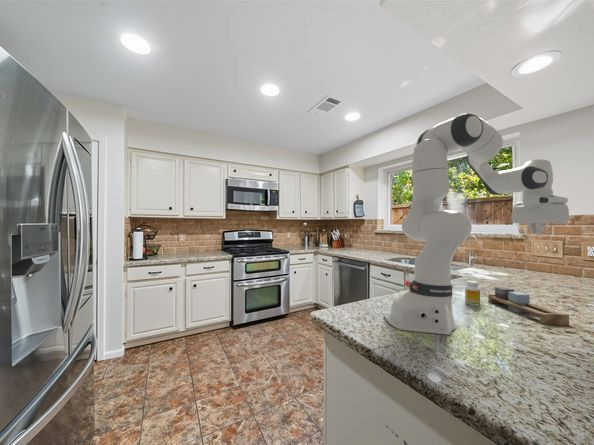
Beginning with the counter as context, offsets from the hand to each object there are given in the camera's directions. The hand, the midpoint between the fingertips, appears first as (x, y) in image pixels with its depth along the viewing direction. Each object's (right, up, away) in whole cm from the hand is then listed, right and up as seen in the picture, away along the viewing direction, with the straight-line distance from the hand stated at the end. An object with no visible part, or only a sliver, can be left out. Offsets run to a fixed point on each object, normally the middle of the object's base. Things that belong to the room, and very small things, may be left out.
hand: (536, 234), depth 98 cm
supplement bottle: (-20, -31, +8) cm, 38 cm away
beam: (-7, -31, -1) cm, 32 cm away
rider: (-7, -29, +1) cm, 29 cm away
